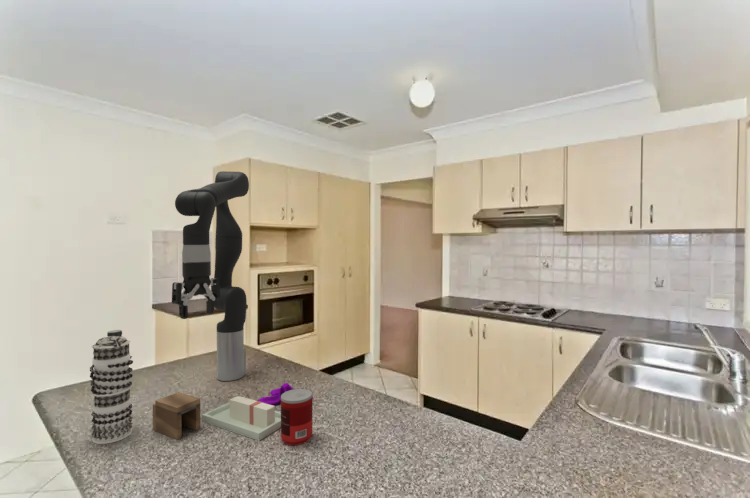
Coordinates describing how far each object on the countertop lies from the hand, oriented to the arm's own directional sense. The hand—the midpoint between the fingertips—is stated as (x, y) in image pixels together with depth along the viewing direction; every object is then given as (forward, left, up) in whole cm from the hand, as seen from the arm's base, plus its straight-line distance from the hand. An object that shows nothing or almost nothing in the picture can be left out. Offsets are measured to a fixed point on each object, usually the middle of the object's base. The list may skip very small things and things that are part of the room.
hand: (197, 315), depth 112 cm
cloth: (-19, +18, -29) cm, 39 cm away
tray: (-2, +18, -28) cm, 33 cm away
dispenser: (+10, +6, -28) cm, 30 cm away
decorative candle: (+20, -6, -28) cm, 35 cm away
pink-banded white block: (-2, +20, -27) cm, 34 cm away
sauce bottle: (+3, -37, -28) cm, 47 cm away
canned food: (-2, +36, -28) cm, 46 cm away
